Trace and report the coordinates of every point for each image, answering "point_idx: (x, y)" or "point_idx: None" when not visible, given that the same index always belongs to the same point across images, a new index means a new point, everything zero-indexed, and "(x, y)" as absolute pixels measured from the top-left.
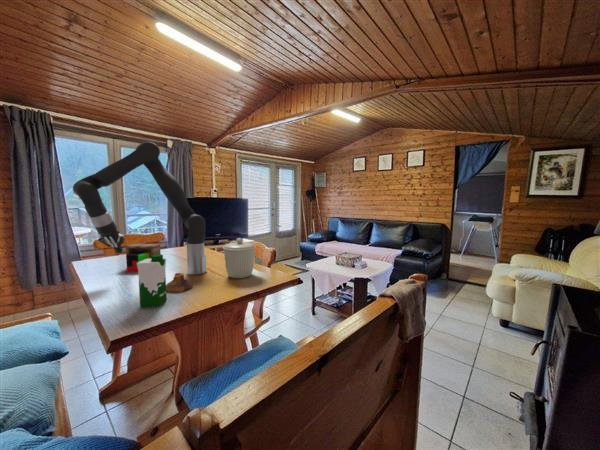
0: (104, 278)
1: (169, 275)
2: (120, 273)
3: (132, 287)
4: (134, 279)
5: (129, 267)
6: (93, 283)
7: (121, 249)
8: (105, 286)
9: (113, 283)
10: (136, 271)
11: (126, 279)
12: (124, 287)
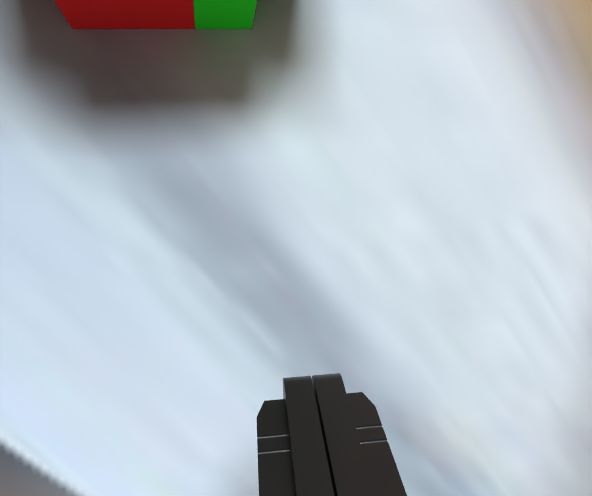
0: (14, 248)
1: (506, 107)
2: (40, 79)
3: (422, 412)
4: (308, 239)
5: (87, 3)
6: (39, 391)
7: (368, 431)
8: (210, 434)
9: (215, 359)
10: (170, 24)
11: (242, 248)
12: None
